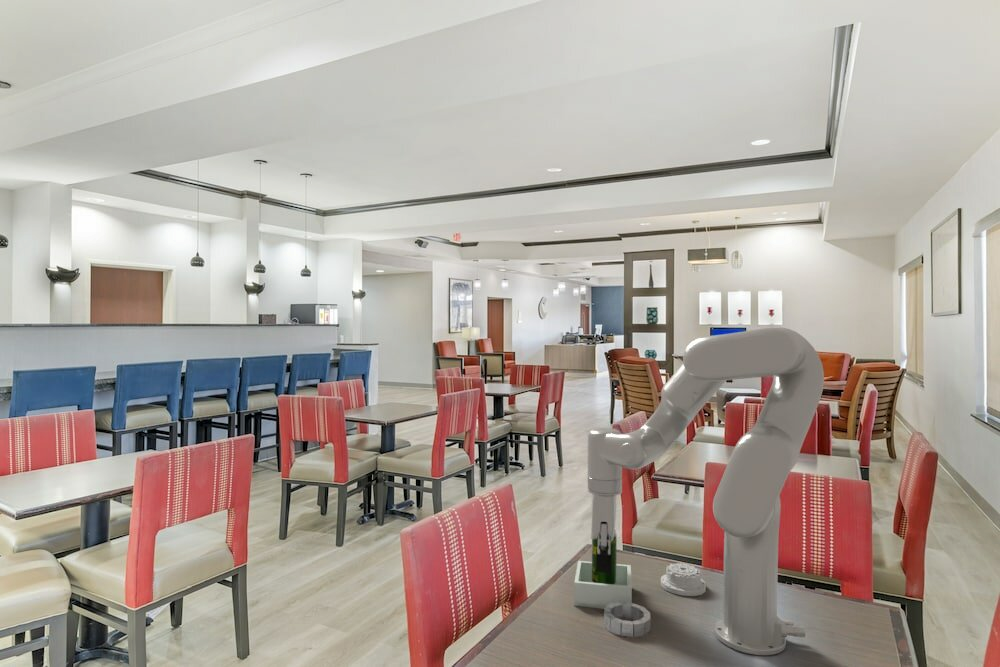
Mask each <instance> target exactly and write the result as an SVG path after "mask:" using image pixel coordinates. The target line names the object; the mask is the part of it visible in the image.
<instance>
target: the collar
mask: <svg viewBox="0 0 1000 667" xmlns="http://www.w3.org/2000/svg"><path fill="white" fill-rule="evenodd" d="M620 618H629V619H633V620H632V621H631V620H623V619H620ZM651 623H652V622H651V612H650V610H648V609H647V608H645V607H644V606H643V605H639V604H636V603H634V602H632V603H626V602H617V603H611V604H609V605H608V606H606V607H605V608H604V611H603V626H604V628H606V629H607V630H608V632H610V633H612V634H615V635H618V636H620V637H624V636H627V638H639V636H640V637H643V636H646V635H648V633H650V632H651Z"/></svg>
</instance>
